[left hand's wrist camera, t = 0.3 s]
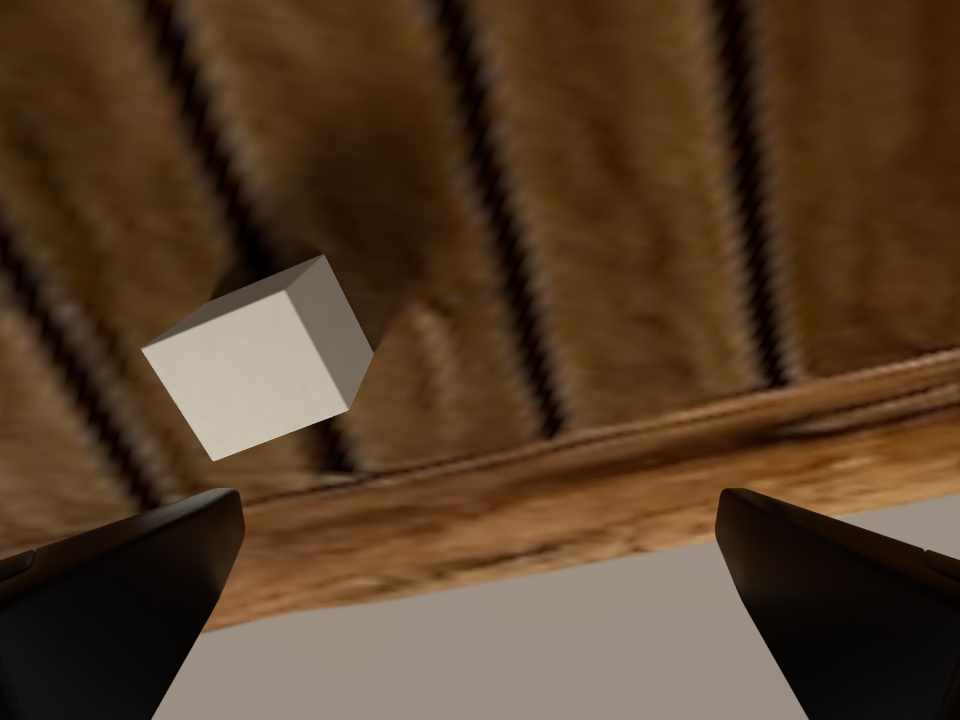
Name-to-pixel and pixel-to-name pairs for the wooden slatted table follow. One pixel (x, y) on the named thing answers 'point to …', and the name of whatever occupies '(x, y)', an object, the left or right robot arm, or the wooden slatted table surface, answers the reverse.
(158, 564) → the left robot arm
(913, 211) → the wooden slatted table surface
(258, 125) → the wooden slatted table surface
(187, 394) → the beige cube
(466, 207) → the wooden slatted table surface
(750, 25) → the wooden slatted table surface
